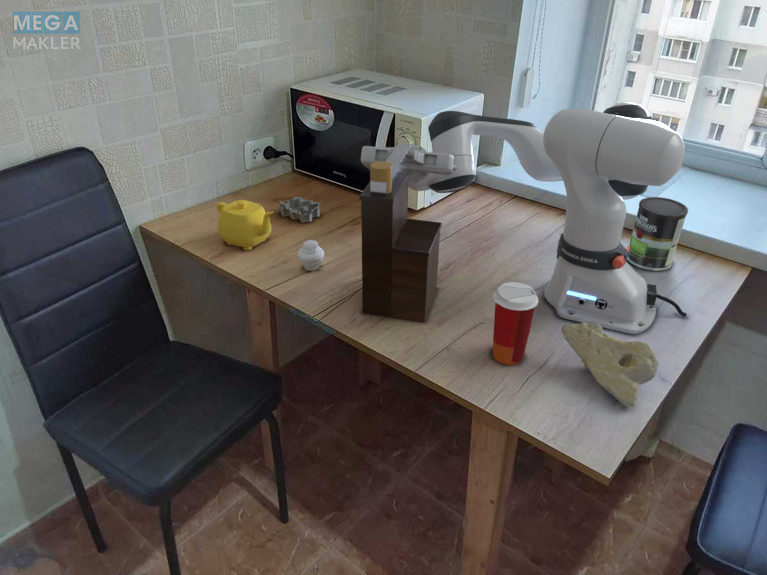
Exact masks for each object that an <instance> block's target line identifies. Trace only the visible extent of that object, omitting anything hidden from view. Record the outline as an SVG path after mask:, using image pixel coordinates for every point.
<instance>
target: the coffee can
mask: <svg viewBox="0 0 767 575" xmlns="http://www.w3.org/2000/svg"><path fill="white" fill-rule="evenodd" d="M688 213H689V208H688V207H687V206H686V205H685V204H684V203H682V202H680V201H677V200H674V199H670V198H668V197H662V196H661V197H660V196H650V197H644V198H642V199H640V200H639V203H638V210H637V213H636V217H635V221H634V225H633V229H632V233H631V237H630V241H629V245H628V246H630V248H629V252H628V256H627V260H626V261H627V262H629V263H630V264H631V265H633V266H634V267H637V268H639V269H642V270H645V271H646V270H647V271H653V272H661V271H667V270H669V269H670V268H671V267H672V265H673V260H674V257H675V254H676V250H677V247H678V244H679V240H680V237H681V234H682V231H683V227H684V224H685V220H686V218H687V215H688Z"/></svg>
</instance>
